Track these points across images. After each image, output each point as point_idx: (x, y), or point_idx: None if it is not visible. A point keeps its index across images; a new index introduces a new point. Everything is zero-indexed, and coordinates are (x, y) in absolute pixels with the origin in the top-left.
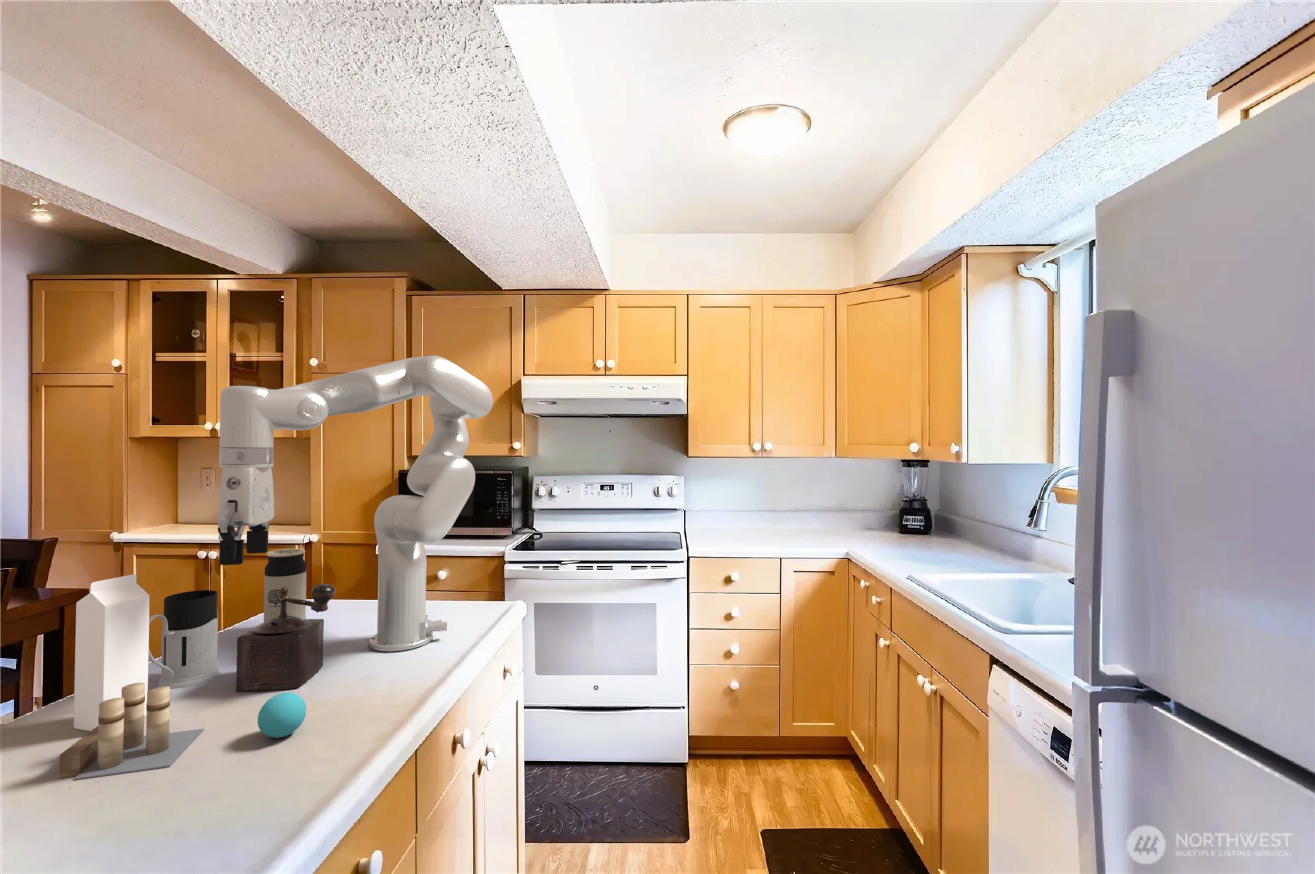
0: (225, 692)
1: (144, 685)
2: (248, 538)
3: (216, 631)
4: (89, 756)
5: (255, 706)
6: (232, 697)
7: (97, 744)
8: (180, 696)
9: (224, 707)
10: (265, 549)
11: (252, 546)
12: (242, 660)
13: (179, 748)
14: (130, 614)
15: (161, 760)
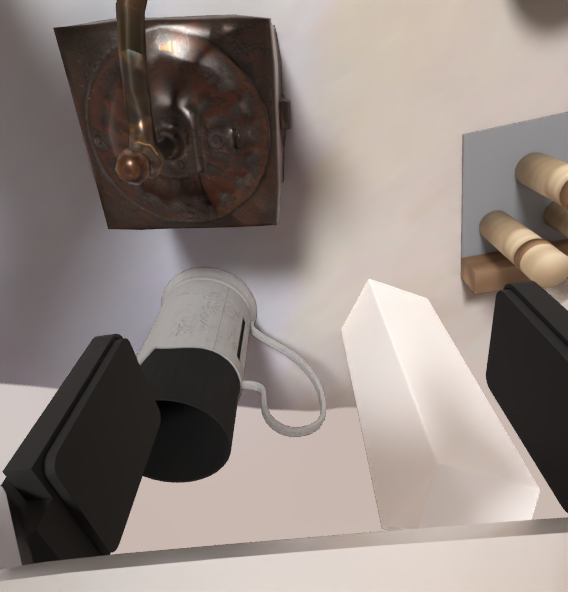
0: (282, 201)
1: (549, 254)
2: (131, 497)
3: (172, 325)
4: (557, 247)
5: (366, 87)
6: (309, 171)
7: None
8: (293, 274)
9: (359, 157)
10: (119, 347)
11: (139, 427)
12: (280, 188)
13: (541, 129)
14: (466, 438)
15: None
